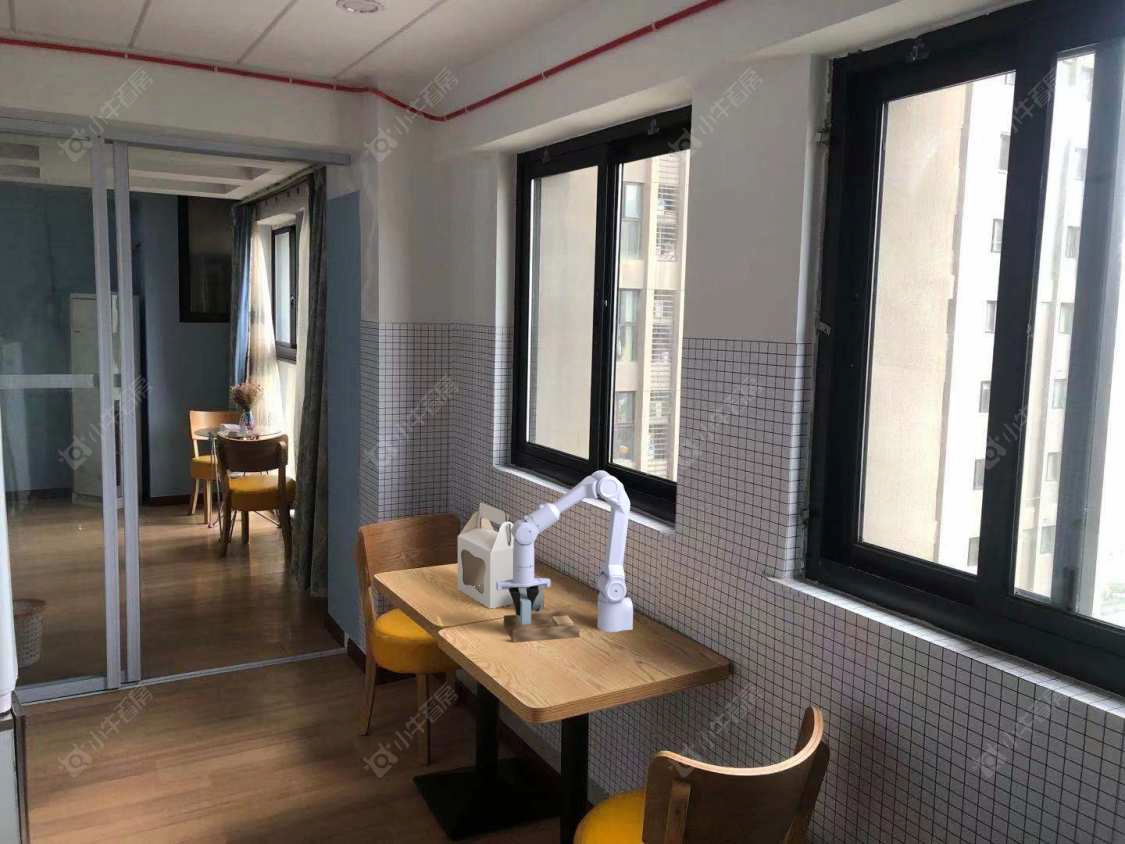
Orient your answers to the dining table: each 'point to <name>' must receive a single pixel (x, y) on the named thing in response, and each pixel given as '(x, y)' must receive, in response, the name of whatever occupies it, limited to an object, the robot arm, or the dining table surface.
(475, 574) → the gable box
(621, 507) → the robot arm
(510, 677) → the dining table surface
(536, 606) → the ceramic mug
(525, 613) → the block
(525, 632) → the rack
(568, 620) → the offcut top
